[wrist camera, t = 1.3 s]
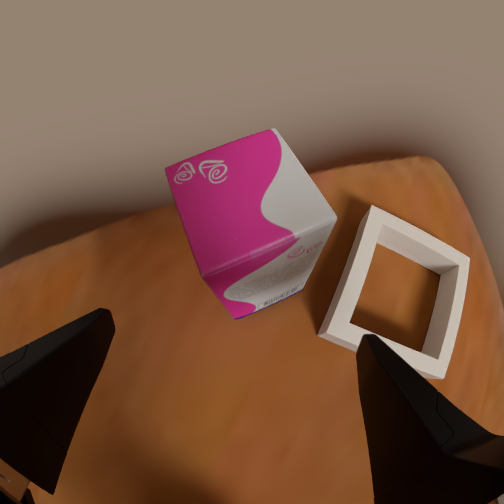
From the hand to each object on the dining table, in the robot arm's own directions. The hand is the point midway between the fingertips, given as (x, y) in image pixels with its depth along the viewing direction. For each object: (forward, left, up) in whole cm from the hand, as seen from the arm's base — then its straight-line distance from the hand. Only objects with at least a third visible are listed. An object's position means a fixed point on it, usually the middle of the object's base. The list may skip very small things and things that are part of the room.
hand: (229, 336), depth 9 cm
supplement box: (+4, -4, -12) cm, 13 cm away
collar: (-4, -12, -11) cm, 17 cm away
